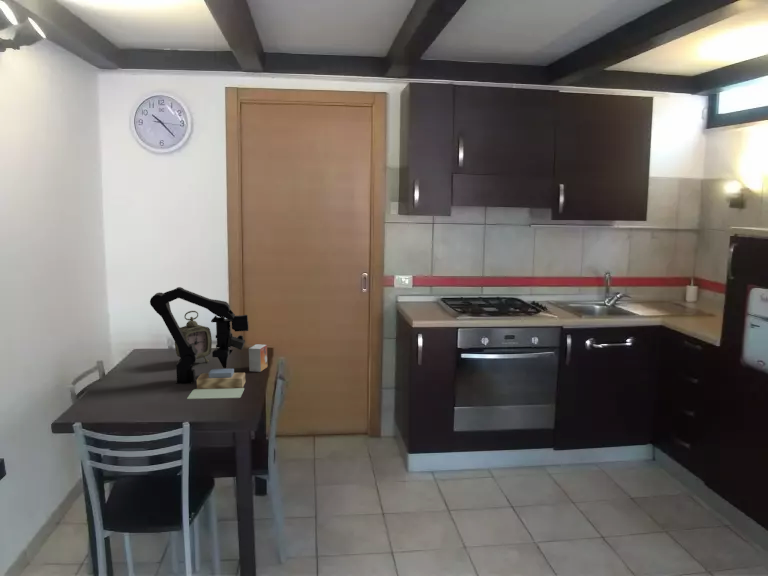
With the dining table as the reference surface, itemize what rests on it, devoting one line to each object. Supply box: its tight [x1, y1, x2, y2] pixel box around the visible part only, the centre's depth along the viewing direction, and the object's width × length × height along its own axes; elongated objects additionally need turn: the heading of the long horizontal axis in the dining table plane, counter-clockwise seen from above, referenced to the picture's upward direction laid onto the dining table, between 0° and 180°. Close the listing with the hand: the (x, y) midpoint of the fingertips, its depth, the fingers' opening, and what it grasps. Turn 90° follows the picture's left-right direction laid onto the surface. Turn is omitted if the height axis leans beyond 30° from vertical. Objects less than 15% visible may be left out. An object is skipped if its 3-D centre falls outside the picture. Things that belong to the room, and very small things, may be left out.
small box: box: [248, 343, 268, 373], centre depth 262 cm, size 8×6×10 cm
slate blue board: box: [208, 368, 235, 378], centre depth 240 cm, size 9×6×2 cm, turn 94°
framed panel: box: [196, 372, 246, 389], centre depth 240 cm, size 18×8×4 cm, turn 94°
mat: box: [186, 387, 245, 400], centre depth 230 cm, size 20×11×1 cm, turn 94°
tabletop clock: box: [174, 310, 213, 363], centre depth 269 cm, size 14×9×25 cm, turn 139°
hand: (224, 368), depth 248 cm, fingers closed
